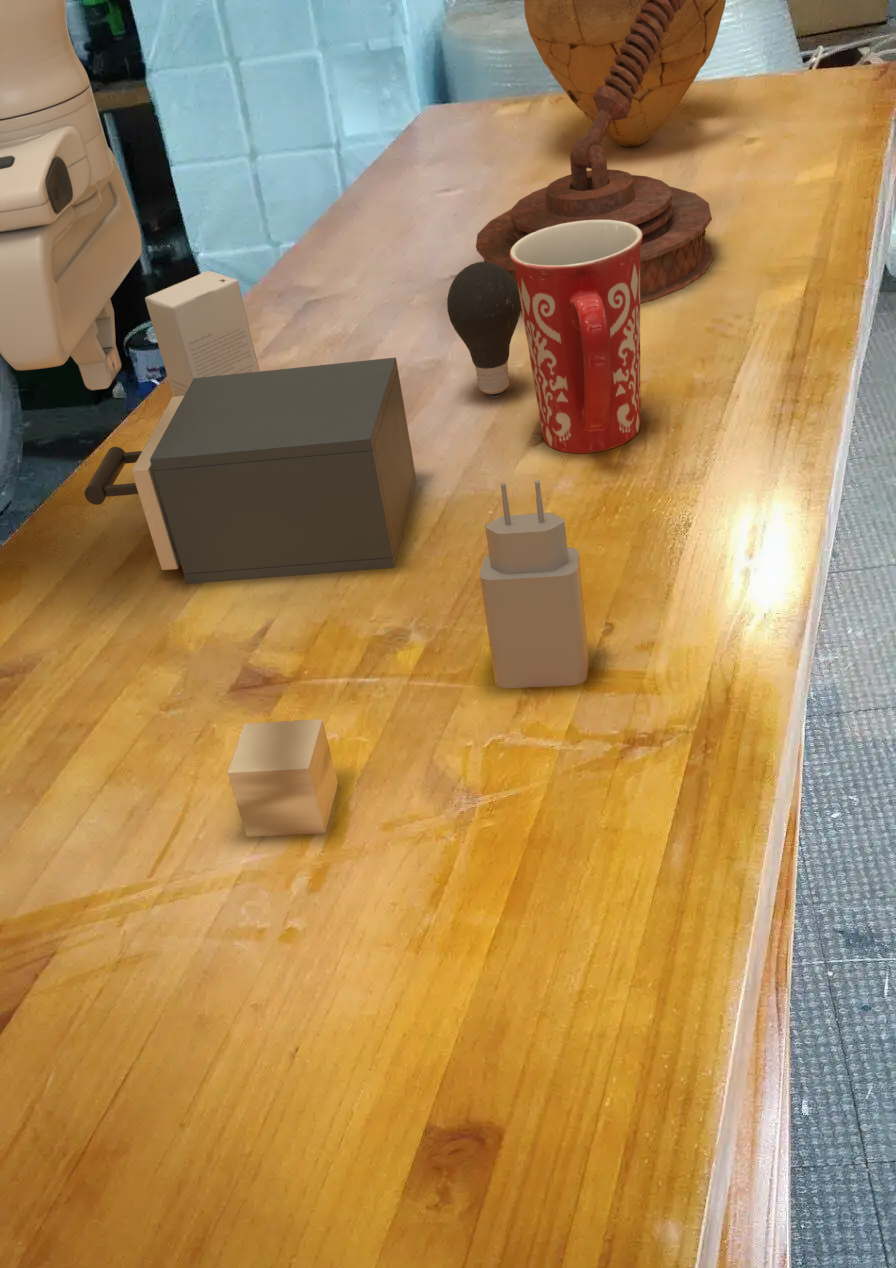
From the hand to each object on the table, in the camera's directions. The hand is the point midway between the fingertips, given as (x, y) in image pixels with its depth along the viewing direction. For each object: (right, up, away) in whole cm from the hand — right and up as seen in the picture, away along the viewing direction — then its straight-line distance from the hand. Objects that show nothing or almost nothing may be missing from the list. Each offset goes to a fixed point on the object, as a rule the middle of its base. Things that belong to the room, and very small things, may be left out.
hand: (105, 380), depth 98 cm
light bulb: (+27, +6, +18) cm, 33 cm away
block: (+14, -30, -17) cm, 38 cm away
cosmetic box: (+6, +3, +19) cm, 20 cm away
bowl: (+43, +49, +60) cm, 88 cm away
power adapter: (+28, -22, -11) cm, 37 cm away
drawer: (+8, -8, +6) cm, 13 cm away
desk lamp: (+35, +23, +34) cm, 54 cm away
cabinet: (+13, -8, +6) cm, 16 cm away
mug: (+33, -1, +10) cm, 35 cm away
